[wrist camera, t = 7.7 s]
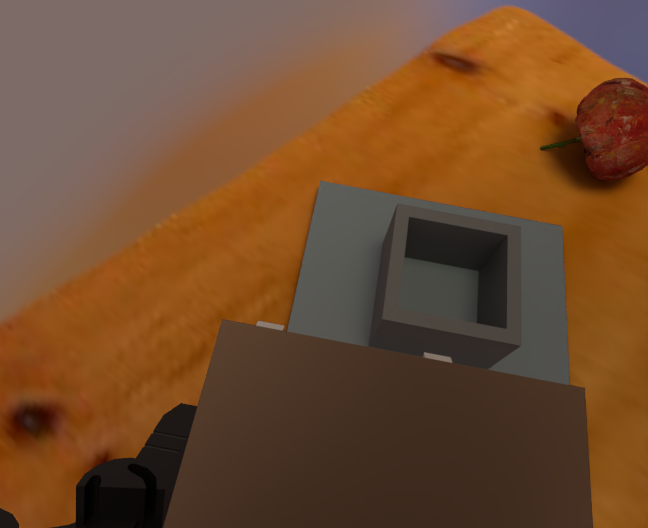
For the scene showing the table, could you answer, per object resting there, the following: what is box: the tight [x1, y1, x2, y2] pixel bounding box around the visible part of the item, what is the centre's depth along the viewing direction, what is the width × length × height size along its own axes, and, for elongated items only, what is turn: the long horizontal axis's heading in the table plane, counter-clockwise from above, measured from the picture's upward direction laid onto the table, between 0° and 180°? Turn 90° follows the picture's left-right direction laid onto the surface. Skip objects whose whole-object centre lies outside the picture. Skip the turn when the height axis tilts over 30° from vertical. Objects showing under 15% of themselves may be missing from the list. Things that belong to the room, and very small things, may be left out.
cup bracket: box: [287, 181, 570, 385], centre depth 31 cm, size 18×16×6 cm
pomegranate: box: [540, 78, 648, 180], centre depth 38 cm, size 7×7×10 cm
